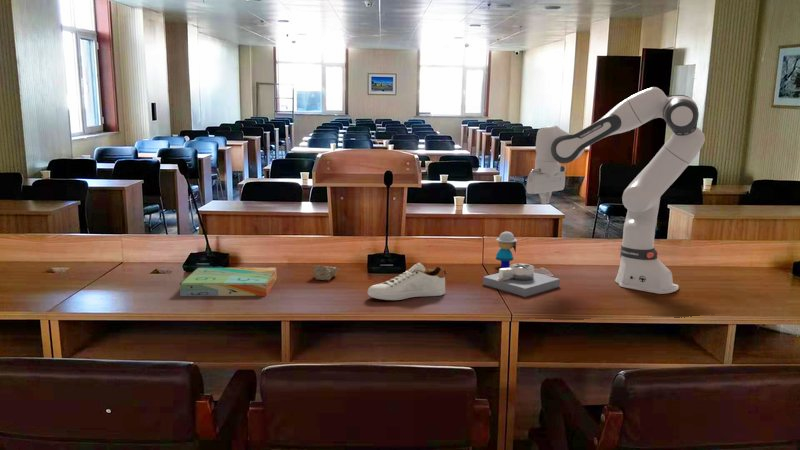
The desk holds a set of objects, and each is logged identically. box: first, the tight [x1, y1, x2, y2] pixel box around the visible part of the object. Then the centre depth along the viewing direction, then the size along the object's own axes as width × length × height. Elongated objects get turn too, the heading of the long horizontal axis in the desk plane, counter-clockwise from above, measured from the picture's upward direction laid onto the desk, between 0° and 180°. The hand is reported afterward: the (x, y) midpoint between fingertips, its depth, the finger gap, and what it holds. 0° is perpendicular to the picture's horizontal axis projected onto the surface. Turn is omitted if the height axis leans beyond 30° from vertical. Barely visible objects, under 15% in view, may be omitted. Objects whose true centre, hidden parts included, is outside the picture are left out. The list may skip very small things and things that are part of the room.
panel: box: [482, 272, 561, 298], centre depth 235 cm, size 20×20×4 cm
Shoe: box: [367, 262, 446, 301], centre depth 221 cm, size 10×29×12 cm, turn 112°
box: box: [179, 267, 277, 297], centre depth 231 cm, size 22×5×30 cm
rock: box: [312, 265, 339, 281], centre depth 244 cm, size 10×8×8 cm
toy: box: [495, 231, 518, 268], centre depth 261 cm, size 8×9×15 cm
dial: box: [498, 262, 535, 280], centre depth 233 cm, size 14×9×4 cm, turn 112°
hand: (545, 203), depth 245 cm, fingers closed
